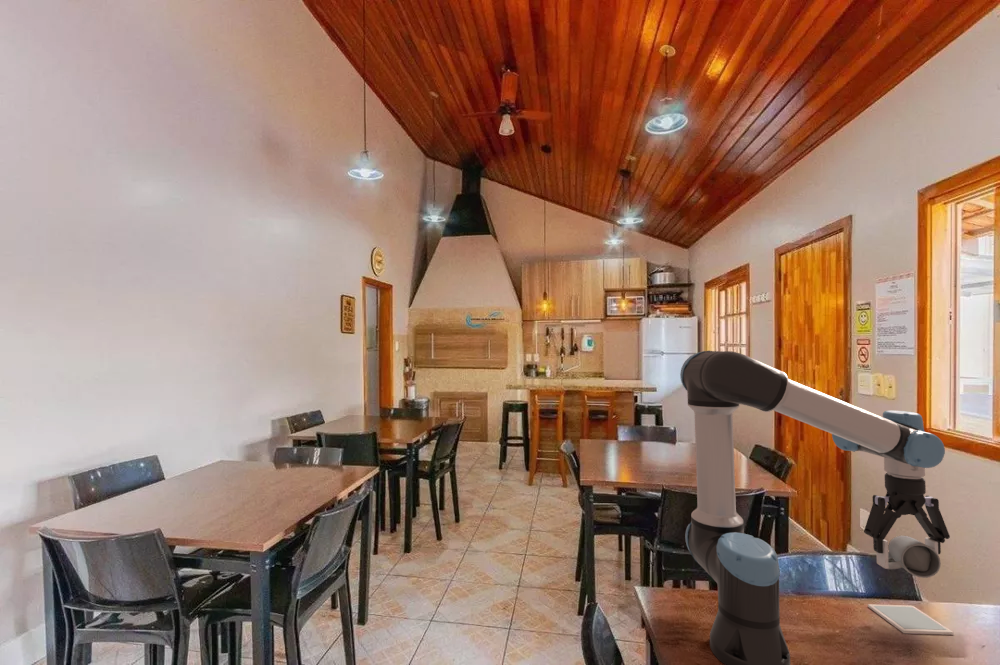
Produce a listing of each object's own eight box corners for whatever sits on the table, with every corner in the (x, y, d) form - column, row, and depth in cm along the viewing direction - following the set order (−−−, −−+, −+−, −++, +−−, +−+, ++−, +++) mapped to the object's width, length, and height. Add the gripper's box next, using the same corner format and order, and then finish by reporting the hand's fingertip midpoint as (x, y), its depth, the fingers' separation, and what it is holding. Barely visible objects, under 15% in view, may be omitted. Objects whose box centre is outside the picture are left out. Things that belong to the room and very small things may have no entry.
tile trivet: (903, 633, 106) (903, 630, 106) (867, 606, 117) (867, 604, 117) (953, 634, 106) (953, 631, 106) (912, 607, 117) (912, 605, 117)
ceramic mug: (921, 564, 115) (919, 532, 115) (942, 580, 107) (940, 546, 107) (871, 560, 118) (869, 529, 118) (888, 575, 110) (886, 542, 110)
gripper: (866, 478, 109) (869, 573, 109) (969, 480, 108) (972, 575, 108) (844, 470, 117) (846, 558, 116) (940, 471, 116) (943, 560, 115)
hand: (907, 566), depth 112 cm, fingers closed on ceramic mug, 11 cm apart
